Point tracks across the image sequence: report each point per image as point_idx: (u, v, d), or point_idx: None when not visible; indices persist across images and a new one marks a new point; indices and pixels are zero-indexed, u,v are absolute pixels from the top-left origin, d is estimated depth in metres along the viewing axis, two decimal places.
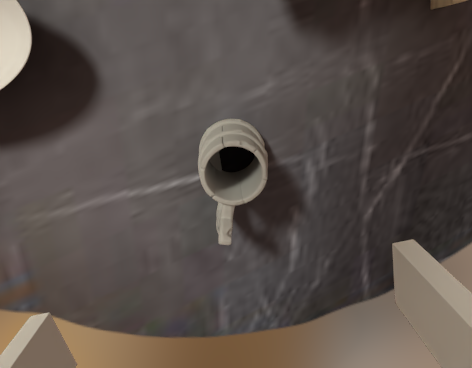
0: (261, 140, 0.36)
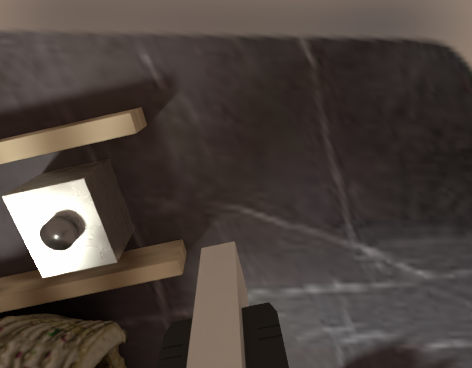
0: None
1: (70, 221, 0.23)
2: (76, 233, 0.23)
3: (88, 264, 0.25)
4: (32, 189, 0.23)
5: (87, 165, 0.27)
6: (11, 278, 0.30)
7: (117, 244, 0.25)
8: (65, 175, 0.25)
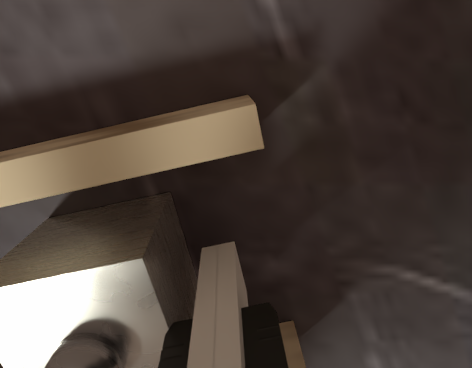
0: None
1: (108, 345, 0.11)
2: None
3: None
4: (26, 280, 0.10)
5: (132, 208, 0.14)
6: None
7: None
8: (94, 236, 0.12)
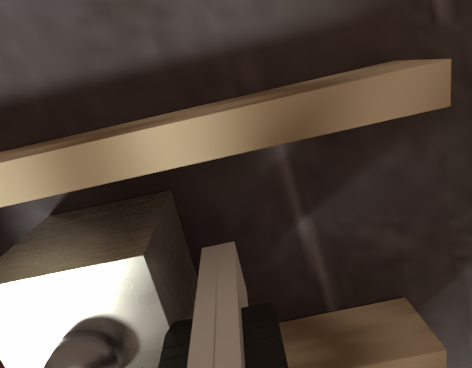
0: None
1: (109, 342, 0.11)
2: (122, 365, 0.11)
3: None
4: (27, 276, 0.10)
5: (132, 206, 0.14)
6: None
7: None
8: (95, 234, 0.12)
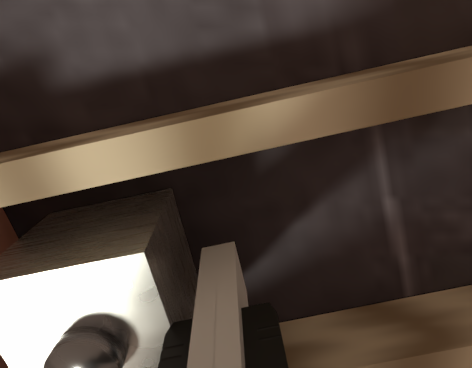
0: None
1: (109, 338, 0.11)
2: (122, 362, 0.11)
3: None
4: (28, 273, 0.10)
5: (133, 204, 0.14)
6: None
7: None
8: (96, 231, 0.12)
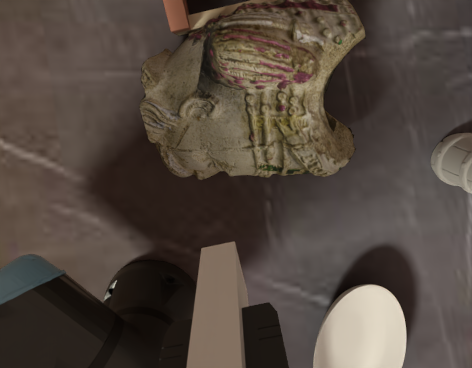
0: (460, 137, 0.44)
1: None
2: None
3: None
4: None
5: None
6: None
7: None
8: None
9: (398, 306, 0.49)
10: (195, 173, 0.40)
